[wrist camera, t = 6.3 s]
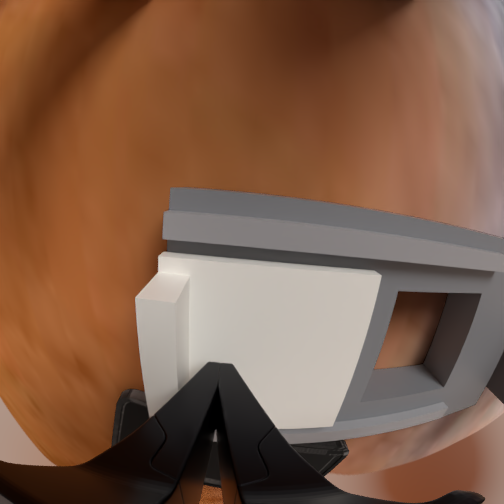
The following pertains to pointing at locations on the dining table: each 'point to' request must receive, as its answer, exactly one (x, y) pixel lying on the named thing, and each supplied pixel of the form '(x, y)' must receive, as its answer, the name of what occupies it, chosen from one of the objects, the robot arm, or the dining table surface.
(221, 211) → the socket plate
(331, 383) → the shutter
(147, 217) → the dining table surface
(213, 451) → the phone
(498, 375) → the plug
